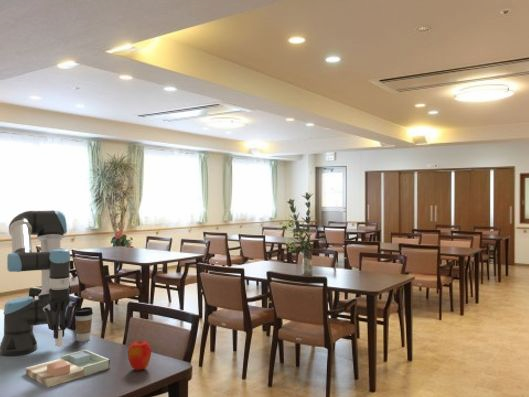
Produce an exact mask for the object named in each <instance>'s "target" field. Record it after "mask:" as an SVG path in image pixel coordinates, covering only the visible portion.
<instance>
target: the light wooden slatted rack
mask: <svg viewBox="0 0 529 397" xmlns="http://www.w3.org/2000/svg"><path fill="white" fill-rule="evenodd" d="M60 361H64V362H66V363H68V364H70V372H69V373H66V374H63V375H59V376H56V377H54V376H52V375H50V374H48V373H47V365H49V364H53V363H56V362H60ZM25 375H27V376H28V377H29V378H31V379H33V380H35V381H37V382H39V383H40V384H41V385H43V386H45V387H47V388H51V387H53V386H56V385H59V384H63V383H67V382H69V381H72V380H76V379H79V378H82V377H85V376H84V369H82V368H80V367H78V366H76V365H74V364H71V363H69V362H67V361H65V360H63V359H61V358H58V359H54V360H50V361H46V362H42V363H39V364H35V365H31V366H27V367H25ZM50 386H51V387H50Z"/></svg>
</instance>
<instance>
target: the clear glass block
mask: <svg viewBox="0 0 529 397" xmlns="http://www.w3.org/2000/svg"><path fill="white" fill-rule="evenodd" d="M88 362H90V355H89V354H87V353H84V352H80V353H76V354H72V355H69V363H71V364H74V365H76V366H78V365H81V364H85V363H88Z"/></svg>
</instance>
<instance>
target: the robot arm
mask: <svg viewBox="0 0 529 397" xmlns="http://www.w3.org/2000/svg"><path fill="white" fill-rule="evenodd" d="M67 232H68V227H67V220H66V216H65V213H64V212H63V211H62V210H61V211H60V210H53V209H52V210H28V211H27V210H26V211H23V212H21V213H19V214H17V215H16V216H14V217H13V218H12V220H11V221H10V222H9V224H8V234H9V235H10V236H11V253H8V254H7V256H6V258H7V259H6V260H7V263H6V264H7V266H6V267H7V271H8V272H10V273H12V272H13V273H15V272H16V273H19V272H30V271H31V272H32V271H33V272H34V271H41V292H40V293H39V294H38V295H37V299H34V297H33V296H22V297H17V298H13V299H10V300H8V301H6V302H5V304H4V307H3V315H4V316H3V336H2V340H1V342H0V355H2V356H5V357H8V356H9V357H11V356H15V357H16V356H21V355H27V354H30V353H33V352H34V351H36V350H37V349H38V341H37V339H36V335H35V333H34V326H41V325H42V326H43V325H47V328H48V329H49V330H51V331H53V338H54V339H55V345H54V346H57V347H63V338H64V337H65V330H67V328H68V327H70V323H71V320H72V316H73V311H74V308H75V306H77V305H76V304H77V303H76V302H73V301H71V299H70V295H71V294H70V293H71V292H70V288H71V287H70V285H71V284H70V280H71V279H70V277H71V276H70V271H71V270H70V269H71V268H70V267H71V266H70V265H71V255H70V254H71V251H70V250H69V249H67V248H61V241H62V239H63V238H64V235H66V234H67ZM31 236H37V237H36V239H37V240H39V242H40V251H34V252H33V245H32V237H31Z"/></svg>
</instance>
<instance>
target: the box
mask: <svg viewBox="0 0 529 397" xmlns="http://www.w3.org/2000/svg"><path fill="white" fill-rule="evenodd" d="M80 352H84V353H87V354H89V355H90V362H88V363H85V364H81V365H78V367H80V368H82V369H84V376H83V377H85V376H86V377H87V376H89V375H92V374H95V373H99V372H102V371H105V370H108V368H109V369H110V368H111V359H109V358H108V357H105V356H102V355H100V354H97V353H96V352H93V351H91V350H89V349H82V350H79V351H75V352H71V353H68V354H64V355H61V356H60V359H63V360H65V361H67V362H69V355H72V354H76V353H80Z"/></svg>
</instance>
